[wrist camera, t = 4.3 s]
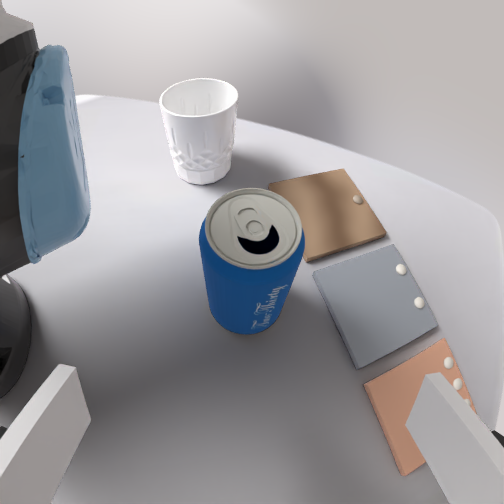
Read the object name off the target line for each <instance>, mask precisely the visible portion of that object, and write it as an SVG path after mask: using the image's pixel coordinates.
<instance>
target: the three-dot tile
mask: <svg viewBox="0 0 504 504" xmlns="http://www.w3.org/2000/svg"><path fill="white" fill-rule="evenodd" d="M438 372H440V373H441V374H442V375H443V376H444V377H445V378H446V379H447V381H448V382H449V383H450V384H451V385H452V386H453V387H454V389H455V390H456V391H457V392H458V393H459V394H460V396H461V397H462V398H463V399H464V400H465V401H466V403H467V404H468V405H469V406H470V407H471V408H472V410H473V411H474V412H475V413H476V411H475V408H474V405H473V403H472V400H471V397H470V395H469V392H468V390H467V387H466V385H465V383H464V380H463V378H462V375H461V373H460V371H459V368H458V366H457V364H456V362H455V359H454V357H453V355H452V353H451V350H450V348H449V346H448V344H447V342H446V340H445V338H443V339H441V340H439V341H438V342H436V343H435V344H433V345H432V346H430V347H429V348H427V349H425V350H424V351H422V352H420V353H419V354H417V355H416V356H414V357H412V358H411V359H409V360H407V361H405V362H404V363H402V364H400V365H399V366H397V367H395V368H393V369H391V370H390V371H388V372H386V373H384V374H382V375H380V376H379V377H377V378H375V379H373V380H371V381H369V382H367V383H365V384H363V385H364V387H365V390H366V392H367V394H368V397H369V399H370V401H371V403H372V406H373V408H374V410H375V413H376V415H377V418H378V420H379V422H380V425H381V427H382V429H383V432H384V434H385V437H386V439H387V441H388V444H389V446H390V449H391V451H392V454H393V456H394V459H395V461H396V464H397V466H398V469H399V471H400V474H401V475H402V476H406V475H408V474H409V473H411V472H412V471H414V470H415V469H417V468H418V467H420V466H421V465H422V464H424V463H425V462H426V460H425V459H424V457H423V455H422V453H421V452H420V450H419V448H418V446H417V445H416V443H415V441H414V439H413V438H412V436H411V434H410V433H409V431H408V429H407V427H406V426H405V424H406V421H407V419H408V417H409V415H410V412H411V410H412V408H413V405H414V403H415V400H416V398H417V395H418V393H419V390H420V388H421V385H422V382H423V380H424V377H425V375H426V374H432V373H438ZM476 414H477V413H476Z"/></svg>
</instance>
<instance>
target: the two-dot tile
mask: <svg viewBox="0 0 504 504" xmlns="http://www.w3.org/2000/svg"><path fill="white" fill-rule="evenodd" d="M312 276H313V278H314V280H315V282H316V284H317V286H318V288H319V290H320V292H321V294H322V296H323V298H324V300H325V302H326V305H327V307H328V309H329V311H330V313H331V315H332V317H333V319H334V321H335V324H336V326H337V328H338V330H339V332H340V334H341V336H342V339H343V341H344V343H345V345H346V347H347V349H348V352H349V354H350V356H351V358H352V360H353V363H354V365H355V367H356V369H357V370H358V369H360V368H362V367H364V366H366V365H368V364H370V363H372V362H374V361H376V360H377V359H379V358H381V357H383V356H385V355H387V354H389V353H391V352H393V351H394V350H396V349H398V348H400V347H402V346H404V345H405V344H407V343H409V342H411V341H412V340H414V339H416V338H418V337H419V336H421V335H423V334H424V333H426V332H428V331H429V330H431V329H433V328H434V327H436V326H437V325H438V323H437V321H436V319H435V317H434V315H433V313H432V311H431V310H430V308H429V306H428V304H427V302H426V300H425V298H424V296H423V294H422V293H421V291H420V289H419V287H418V285H417V283H416V282H415V280H414V278H413V276H412V274H411V273H410V271H409V269H408V267H407V266H406V264H405V262H404V261H403V259H402V257H401V255H400V254H399V252H398V250H397V249H396V247H395V245H394V244H392V245H389V246H387V247H384V248H381V249H378V250H375V251H373V252H370V253H367V254H364V255H361V256H358V257H355V258H353V259H350V260H347V261H344V262H341V263H338V264H335V265H332V266H329V267H326V268H323V269H320V270H317V271H314V273H313V275H312Z"/></svg>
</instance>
